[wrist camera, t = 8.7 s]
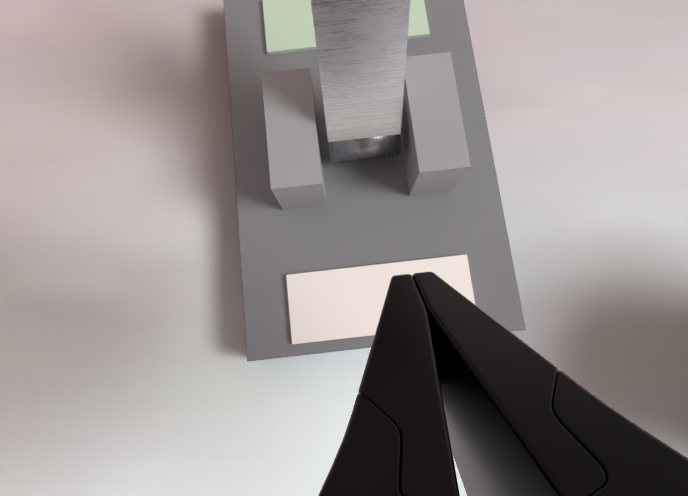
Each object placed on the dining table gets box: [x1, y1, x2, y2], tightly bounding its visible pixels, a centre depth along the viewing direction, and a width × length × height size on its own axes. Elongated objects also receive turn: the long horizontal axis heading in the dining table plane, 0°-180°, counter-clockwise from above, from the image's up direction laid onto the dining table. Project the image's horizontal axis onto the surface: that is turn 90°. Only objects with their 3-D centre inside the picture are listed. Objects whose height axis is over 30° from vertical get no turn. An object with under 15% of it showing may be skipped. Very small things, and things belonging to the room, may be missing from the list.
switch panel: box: [224, 0, 525, 361], centre depth 19 cm, size 18×12×4 cm, turn 6°
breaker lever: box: [311, 0, 410, 163], centre depth 15 cm, size 2×4×10 cm, turn 96°
